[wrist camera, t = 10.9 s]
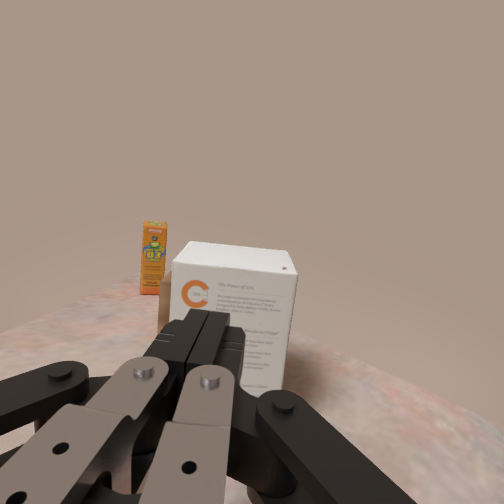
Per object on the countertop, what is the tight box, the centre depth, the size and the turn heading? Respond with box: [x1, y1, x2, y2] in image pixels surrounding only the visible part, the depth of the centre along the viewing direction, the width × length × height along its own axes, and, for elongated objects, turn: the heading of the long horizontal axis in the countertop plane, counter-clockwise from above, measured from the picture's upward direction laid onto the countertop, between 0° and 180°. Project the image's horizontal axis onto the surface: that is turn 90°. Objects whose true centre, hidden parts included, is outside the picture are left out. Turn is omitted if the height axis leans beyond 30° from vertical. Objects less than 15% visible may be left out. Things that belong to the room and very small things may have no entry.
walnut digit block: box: [157, 271, 172, 335], centre depth 35 cm, size 5×5×8 cm
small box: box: [169, 241, 298, 398], centre depth 26 cm, size 8×6×13 cm
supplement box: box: [140, 221, 167, 295], centre depth 49 cm, size 3×3×10 cm
